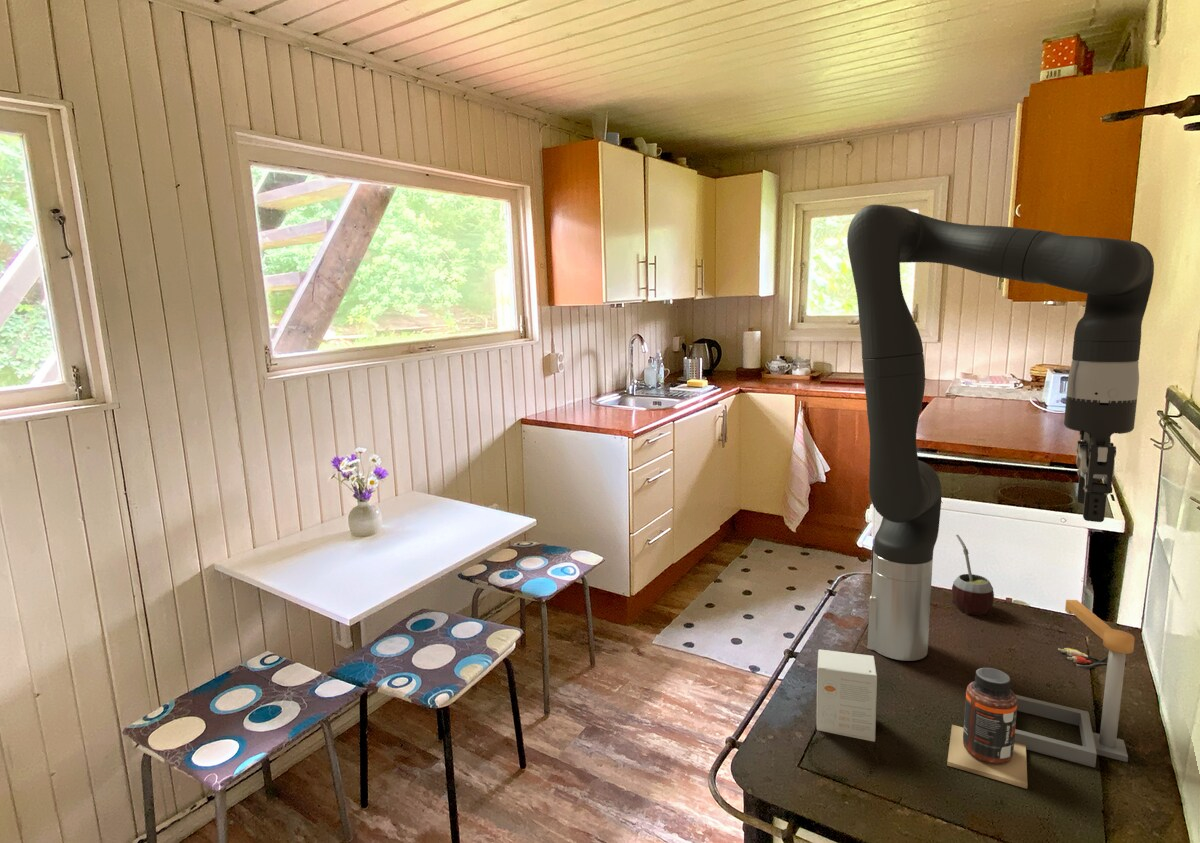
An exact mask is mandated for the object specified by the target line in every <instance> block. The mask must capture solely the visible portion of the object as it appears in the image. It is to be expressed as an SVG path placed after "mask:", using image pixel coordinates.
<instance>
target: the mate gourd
mask: <svg viewBox="0 0 1200 843" xmlns="http://www.w3.org/2000/svg"><path fill="white" fill-rule="evenodd" d="M955 536H956V537H957V538H956V539H957V540H958V541H959V542H960V545H961V546H962V551H963V555H964V557H965V562H966V568H967V573H963V574H959V575H958V576H957V577H956V579H954V581H953V584H952V586H951V596H952V604H954V605H955V606H956V608H957V609H958V610H960V611H961V612H963V613H965V615H966V616H969V615H974V616H981V615H990V614H991V612H992V610H993V605H994V598H995V593H994V587H993V586H992V583H991V582H990V580H989V579H987V578H986V577H985V576H982V575H978V574H973V573H972V568H971V564H970V563H971V562H970V557H969V550H968V548H967V546H966V544H965V543H964V541H963V540H962V537H960V535H959V534H956V535H955Z"/></svg>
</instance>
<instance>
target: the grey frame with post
mask: <svg viewBox="0 0 1200 843" xmlns="http://www.w3.org/2000/svg"><path fill="white" fill-rule="evenodd" d="M1107 657H1108V661H1107V662H1106V663H1107V665H1106V672H1105V673H1106V674H1105V682H1104V683H1105V684H1104V692H1103V701H1102V712H1101V722H1100V728H1099V729H1100V730H1099V733H1097V732H1094V731H1093V729H1092V724H1091V718H1090V714H1089V711H1087V710H1083V709H1080V708H1079V709H1078V708H1074V707H1070V706H1065V705H1062V704H1057V703H1053V702H1049V701H1044V700H1041V699H1040V700H1039V699H1035V698H1030V697H1028V696H1022V695H1019V694H1015V695H1016V697H1017V712H1020V713H1025V714H1030V715H1033V716H1036V717H1042V718H1046V719H1049V720H1054V721H1058V722H1062V723H1065V724H1069V725H1075V726H1078V727H1079V732H1080V739H1081V745H1079V744H1075V743H1071V742H1068V741H1064V740H1060V739H1055V738H1052V737H1048V736H1044V735H1040V734H1036V733H1032V732H1029V731H1025V730H1021V729H1016V728H1015V739H1014V742H1016V743H1020V744H1024V745H1026V751H1032V752H1035V753H1039V754H1042V755H1046V756H1051V757H1055V758H1057V759H1060V760H1061V759H1062V760H1066V761H1069V762H1072V763H1076V764H1079V765H1083V766H1088V767H1091V768H1096V764H1097V755H1098V756H1101V757H1105V758H1109V759H1112V760H1116V761H1120V762H1126V763H1128V761H1129V755H1128V750H1127V747H1126V743H1125V740H1124V739H1121V738H1119V737H1118V738H1117V736H1118V729H1119V719H1120V712H1121V710H1120V709H1121V703H1122V702H1121V701H1122V691H1123V683H1124V676H1125V675H1124V674H1125V667H1126V657H1127V654H1124V653H1118V652H1114V651H1111V650H1109V649H1108V655H1107Z"/></svg>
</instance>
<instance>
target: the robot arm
mask: <svg viewBox="0 0 1200 843" xmlns="http://www.w3.org/2000/svg"><path fill="white" fill-rule="evenodd" d="M846 238H847V240H846V242H847V243H846V244H847V251H848V257H849V262H850V266H851V272H852V278H853V281H854V288H855V293H856V298H857V308H858V309H857V310H858V311H857V312H858V322H859V333H860V341H861V342H860V343H861V359H862V361H861V362H862V372H863V374H862V375H863V383H864V391H865V399H866V400H865V401H866V414H867V423H868V424H867V425H868V430H869V433H868V434H869V470H868V472H869V474H868V491H869V498H870V501H871V504H872V505H873V508H874V509H875V510H876V512H877V513H878V514H879V515H880V516H881V517H882V520H881V522H880V526H879V527H878V530H877V532H876V534H875V535H874V539H873V554H872V555H873V558H872V559H873V560H872V580H871V581H872V582H871V584H872V585H871V594H870V596H869V598H868V599H869V600H868V602H869V603H868V622H867V625H868V627H867V649H868V650H871V651H875V652H876V653H878V654H880V655H881V656H884V657H886V658H888V659H892V660H893V659H894V660H897V661H907V662H908V661H918V660H922V659H924V658H925V657H926V656H928V651H929V650H928V648H929V633H930V632H929V630H930V617H931V616H930V615H931V614H930V612H931V595H932V581H933V580H932V579H933V562H934V561H933V560H934V550H935V546H936V543H937V540H938V537H939V531H940V530H939V529H940V518H941V508H942V484H941V479H940V477H939V475H938V474H937V472H936V471H935V470H934V469H933V467H932V466H930V465H929V464H928V463H926V462H925V461H922V460H919V457H918V449H917V447H918V446H917V432H918V430H917V429H918V424H919V420H920V415H921V410H922V405H923V401H924V396H925V387H926V369H925V356H924V347H923V341H922V338H921V334H920V332H919V329H918V327H917V324H916V322H915V320H914V317H913V315H912V313H911V312H910V309H909V306H908V304H907V302H906V299H905V296H904V293H903V288H902V280H901V263H929V264H930V263H933V264H941V265H942V264H943V265H949V266H953V267H957V268H960V269H961V268H962V269H965V270H968V271H971V272H974V273H977V274H978V273H979V274H981V275H985V276H991V277H996V278H1001V279H1006V280H1013V281H1019V282H1024V283H1031V284H1039V285H1040V284H1044V285H1045V284H1046V285H1049V286H1054V287H1057V288H1061V289H1066V290H1069V291H1072V292H1078V293H1083V294H1087V295H1086V302H1085V307H1084V308H1085V309H1084V313H1083V316H1082V317H1081V318H1080V319H1079V320H1078V322H1077V323H1076V327H1075V329H1074V330H1075V331H1074V336H1073V346H1072V357H1071V364H1070V368H1069V373H1068V377H1067V385H1066V395H1065V396H1066V397H1065V398H1066V399H1065V406H1064V407H1065V409H1064V420H1063V425H1064V426H1065V428H1067V429H1069V430H1072V431H1076V432H1079V435H1080V436H1079V440H1077V442H1076V458H1075V459H1076V461H1075V463H1076V467H1077V470H1076V473H1077V476H1078V485H1077V486H1078V487H1077V495H1076V500H1077V502H1078V503H1079V504H1082V505H1083V510H1082V518H1083V519H1084V520H1085V521H1087V522H1092V523H1093V522H1094V523H1102V522H1104V520H1105V515H1106V505H1107V496H1108V495H1109V494H1110V495H1111V493H1112V492H1113V477H1114V474H1115V458H1116V456H1117V446H1116V445H1114V442H1111V436H1112V435H1114V434H1120V435H1121V434H1122V435H1123V434H1128V433H1131V432H1132V431H1133V430H1134V429H1135V422H1136V421H1135V420H1136V414H1137V413H1136V412H1137V403H1138V394H1139V393H1138V392H1139V384H1140V372H1139V363H1140V362H1139V361H1140V351H1141V344H1142V343H1141V342H1142V324H1143V320H1144V317H1145V313H1146V309H1147V306H1148V302H1149V300H1150V299H1149V298H1150V294H1151V290H1152V285H1153V280H1154V274H1155V272H1154V271H1155V262H1154V261H1155V260H1154V258H1153V255H1152V253H1151V251H1150V250H1149V248H1147V247H1146V246H1145V245H1144V244H1141V243H1139V242H1136V241H1134V240H1133V241H1132V240H1127V239H1118V238H1107V237H1098V236H1097V237H1095V236H1083V235H1065V234H1064V235H1063V234H1061V233H1057V232H1055V231H1049V230H1048V231H1047V230H1041V229H1033V228H1032V229H1031V228H1025V227H1024V228H1022V227H1016V226H1015V227H1013V226H1005V225H1004V226H1002V225H1001V226H999V225H979V224H965V223H964V224H963V223H957V222H952V221H951V222H950V221H946V220H941V219H937V218H935V217H934V218H933V217H931V216H927V215H924V214H921V213H918V212H915V211H913V210H912V211H911V210H910V209H908V208H905V207H901V206H896V205H894V206H893V205H888V204H869V205H867V206H864V207H863V208H861V209H860V210H859V211H857V213H855V215H854V216H853V218H852V219H851V221H850V223H849V226H848V230H847V237H846ZM1100 479H1101V480H1102V481H1103V483H1101V482H1099V481H1100Z"/></svg>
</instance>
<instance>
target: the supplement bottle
mask: <svg viewBox="0 0 1200 843" xmlns="http://www.w3.org/2000/svg"><path fill="white" fill-rule="evenodd" d="M1016 695H1017V694H1015V693H1014V691H1012V689H1011V677H1010V675H1008V673H1006V672H1004V671H1002V670H999V669H998V668H997V669H996V668H993V667H980V668H978V669H976V670H975V677H974V680H973V681H971V682H969V684H968V685H967V686H966V690H965V701H964V702H965V704H964V715H963V716H964V717H963V718H964V721H963V728H964V731H963V744H964V747H965V749H966V750H967V751H968V752H969V753H970V754H971V755H973V756H974V757H976V758H978V759H980V760H983V761H985V762H989V763H995V764H1002V763H1007V762H1009V761H1010V760H1011V759H1012V757H1013V751H1014V739H1015V729H1016V727H1017V726H1016V724H1017V723H1016V722H1017V715H1018V714H1017V713H1018V711H1017V697H1016Z"/></svg>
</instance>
